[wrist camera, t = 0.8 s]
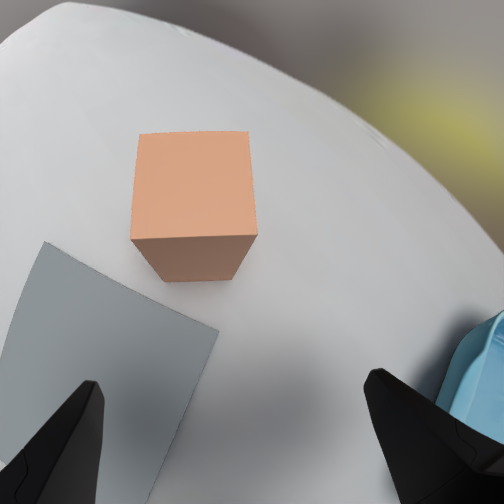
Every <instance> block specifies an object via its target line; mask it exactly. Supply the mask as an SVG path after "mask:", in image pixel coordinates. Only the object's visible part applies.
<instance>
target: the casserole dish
mask: <svg viewBox="0 0 504 504" xmlns="http://www.w3.org/2000/svg"><path fill="white" fill-rule="evenodd" d="M435 404H436V405H437V406H439V407H440V408H442V409H443V410H445V411H446V412H448V413H449V414H451V415H452V416H454V418H457V419H458V420H460V421H461V422H463V423H464V424H466V425H468V426H469V427H471V428H473V429H474V430H476V431H478V432H480V433H482V434H484V435H486V436H488V437H490V438H492V439H493V440H495V441H497V442H499V443H502V444H504V310H503V311H501V312H500V313H498V314H497V315H496V316H494V317H492V318H491V319H489V320H487V321H485V322H483V323H482V324H480V325H478V326H477V327H475V328H474V329H472V330H471V331H470V332H469V333H468V334H467V335H466V336H465V337H464V338H463V339H462V340H461V342H460V343H459V345H458V347H457V348H456V350H455V352H454V355H453V357H452V359H451V362H450V365H449V368H448V370H447V373H446V376H445V379H444V381H443V384H442V387H441V389H440V392H439V395H438V397H437V400H436V403H435Z"/></svg>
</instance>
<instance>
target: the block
mask: <svg viewBox="0 0 504 504" xmlns="http://www.w3.org/2000/svg"><path fill="white" fill-rule="evenodd" d="M257 235H258V233H257V221H256V210H255V199H254V188H253V177H252V167H251V156H250V145H249V135H248V132H238V131H199V132H170V133H152V134H140V136H139V143H138V151H137V159H136V167H135V177H134V188H133V200H132V215H131V235H130V239H131V241H132V242H133V243H134V245H135V246H136V247H137V248H138V250H139V251H140V252H141V254H142V255H143V256H144V257H145V259H146V260H147V261H148V262H149V264H150V265H151V266H152V267H153V269H154V270H155V271H156V272H157V274H158V275H159V276H160V277H161V278H162V280H163V281H164V282H191V281H215V280H232V278H233V276H234V275H235V273H236V271H237V269H238V268H239V266H240V264H241V262H242V261H243V259H244V257H245V256H246V254H247V252H248V250H249V249H250V247H251V245H252V244H253V242H254V240H255V238H256V237H257Z"/></svg>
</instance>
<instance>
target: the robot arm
mask: <svg viewBox="0 0 504 504" xmlns="http://www.w3.org/2000/svg"><path fill="white" fill-rule="evenodd" d="M364 394H365V397H366V401H367V405H368V409H369V412H370V416H371V420H372V424H373V427H374V430H375V432H376V435H377V438H378V440H379V443H380V446H381V448H382V451H383V454H384V457H385V459H386V462H387V465H388V468H389V471H390V473H391V476H392V479H393V482H394V485H395V488H396V491H397V494H398V497H399V500H400V503H401V504H504V444H502V443H499V442H497V441H495V440H493V439H492V438H490V437H488V436H486V435H484V434H482V433H480V432H478V431H476V430H474V429H473V428H471V427H469V426H468V425H466V424H464V423H463V422H461V421H460V420H458V419H457V418H454V416H452V415H451V414H449V413H448V412H446V411H445V410H443V409H442V408H440V407H439V406H437V405H436V404H434V403H433V402H431V401H430V400H428V399H427V398H425V397H424V396H423V395H421V394H420V393H418V392H417V391H415V390H414V389H412V388H411V387H409V386H408V385H406V384H405V383H404V382H402V381H401V380H399V379H398V378H396V377H395V376H393V375H392V374H390V373H389V372H388V371H386V370H385V369H383V368H378V369H373V370H371V371H370V373H369V375H368V377H367V379H366V381H365V383H364ZM104 407H105V399H104V395H103V393H102V391H101V388H100V386H99V384H98V382H97V381H93V380H85V381H83V382H82V383H81V384H80V386H79V387H78V388H77V389H76V390H75V391H74V392H73V393H72V394H71V395H70V396H69V397H68V398H67V399H66V401H65V402H64V403H63V404H62V405H61V406H60V407H59V408H58V409H57V410H56V411H55V413H54V414H53V415H52V416H51V417H50V418H49V419H48V420H47V421H46V422H45V423H44V425H43V426H42V427H41V428H40V429H39V430H38V431H37V432H36V434H35V435H34V436H33V437H32V438H31V439H30V440H29V441H28V443H27V444H26V445H25V446H24V449H21V450H20V451H19V453H18V454H17V455H16V456H15V457H14V458H13V459H12V460H11V461H10V462H9V464H8V465H7V466H5V467H4V468H3V469H2V470H1V471H0V504H95V500H96V489H97V480H98V472H99V464H100V457H101V450H102V442H103V422H104Z"/></svg>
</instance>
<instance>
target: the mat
mask: <svg viewBox="0 0 504 504" xmlns="http://www.w3.org/2000/svg"><path fill="white" fill-rule="evenodd" d="M218 333H219V331H217V330H215V329H213V328H211V327H208V326H206V325H204V324H201V323H199V322H197V321H195V320H192V319H190V318H188V317H186V316H184V315H182V314H179V313H177V312H175V311H173V310H171V309H169V308H167V307H165V306H163V305H160V304H158V303H156V302H154V301H152V300H150V299H148V298H146V297H144V296H142V295H140V294H138V293H136V292H134V291H132V290H130V289H128V288H126V287H125V286H123V285H121V284H119V283H117V282H115V281H113V280H111V279H109V278H108V277H106V276H104V275H102V274H100V273H98V272H97V271H95V270H93V269H91V268H89V267H88V266H86V265H84V264H82V263H81V262H79V261H77V260H75V259H74V258H72V257H70V256H69V255H67V254H65V253H63V252H62V251H60V250H58V249H57V248H55V247H53V246H52V245H50V244H49V243H47V242H45V241H44V243H43V245H42V247H41V250H40V252H39V254H38V256H37V258H36V260H35V262H34V265H33V267H32V269H31V271H30V274H29V276H28V279H27V281H26V283H25V286H24V288H23V291H22V293H21V296H20V299H19V301H18V304H17V307H16V310H15V312H14V315H13V318H12V321H11V324H10V327H9V331H8V334H7V337H6V340H5V344H4V347H3V351H2V355H1V359H0V460H1V461H3V462H4V463H5V464H6V465H8V464H9V462H10V461H11V460H12V459H13V458H14V457H15V456H16V455H17V454H18V453H19V451H20V450H21V449H24V446H25V445H26V444H27V443H28V441H29V440H30V439H31V438H32V437H33V436H34V435H35V434H36V432H37V431H38V430H39V429H40V428H41V427H42V426H43V425H44V423H45V422H46V421H47V420H48V419H49V418H50V417H51V416H52V415H53V414H54V413H55V411H56V410H57V409H58V408H59V407H60V406H61V405H62V404H63V403H64V402H65V401H66V399H67V398H68V397H69V396H70V395H71V394H72V393H73V392H74V391H75V390H76V389H77V388H78V387H79V386H80V384H81V383H82V382H83V381H85V380H93V381H97V382H98V384H99V386H100V388H101V391H102V393H103V395H104V399H105V407H104V422H103V442H102V450H101V457H100V464H99V472H98V480H97V489H96V500H95V504H145V503H146V501H147V499H148V496H149V494H150V492H151V489H152V487H153V485H154V482H155V480H156V478H157V475H158V473H159V471H160V468H161V466H162V464H163V461H164V459H165V457H166V454H167V452H168V450H169V447H170V445H171V443H172V440H173V438H174V436H175V433H176V431H177V429H178V426H179V424H180V422H181V419H182V417H183V415H184V412H185V410H186V408H187V405H188V403H189V401H190V398H191V396H192V394H193V391H194V389H195V387H196V384H197V382H198V380H199V377H200V375H201V373H202V370H203V368H204V366H205V363H206V361H207V359H208V356H209V354H210V352H211V349H212V347H213V345H214V342H215V340H216V338H217V335H218Z"/></svg>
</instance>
